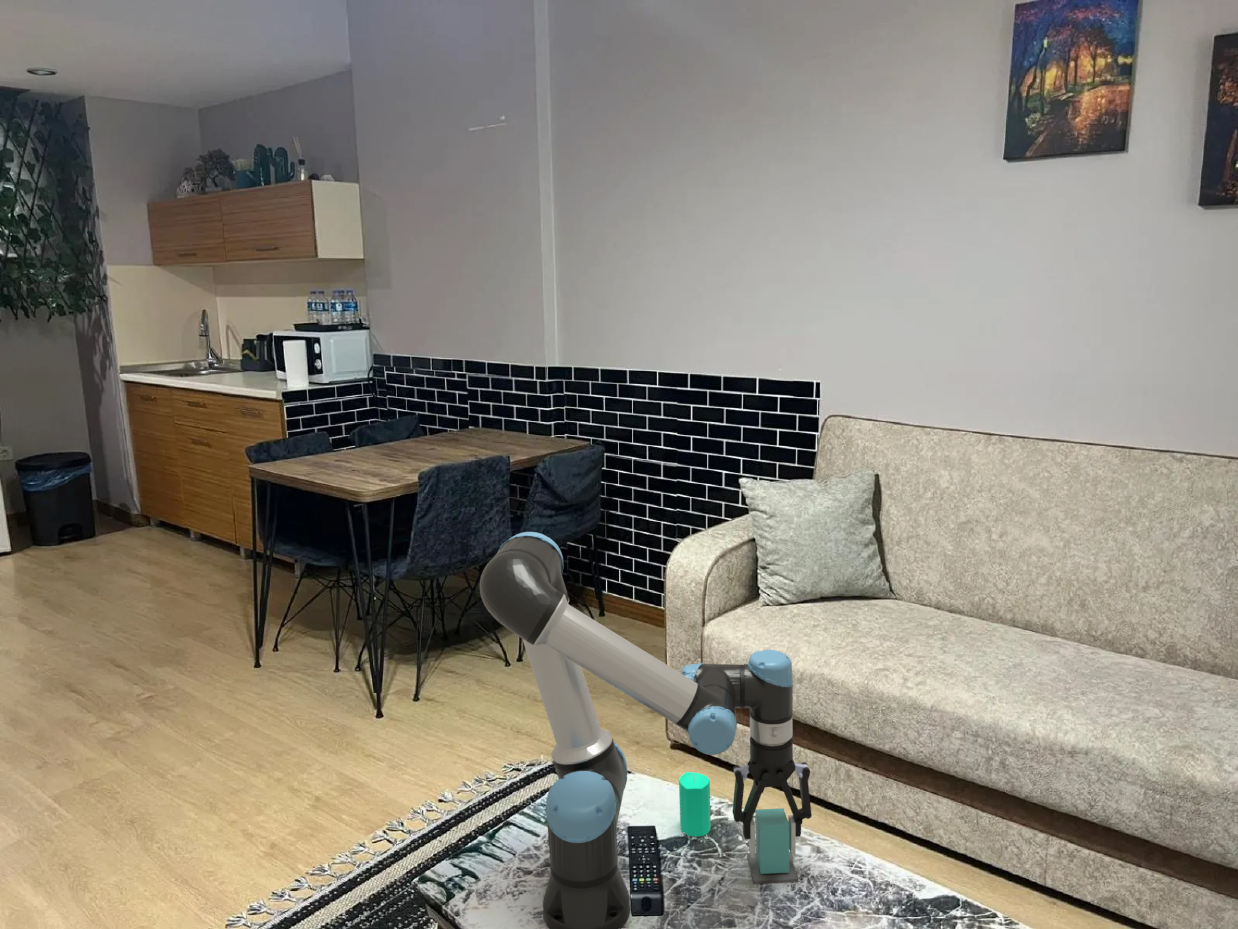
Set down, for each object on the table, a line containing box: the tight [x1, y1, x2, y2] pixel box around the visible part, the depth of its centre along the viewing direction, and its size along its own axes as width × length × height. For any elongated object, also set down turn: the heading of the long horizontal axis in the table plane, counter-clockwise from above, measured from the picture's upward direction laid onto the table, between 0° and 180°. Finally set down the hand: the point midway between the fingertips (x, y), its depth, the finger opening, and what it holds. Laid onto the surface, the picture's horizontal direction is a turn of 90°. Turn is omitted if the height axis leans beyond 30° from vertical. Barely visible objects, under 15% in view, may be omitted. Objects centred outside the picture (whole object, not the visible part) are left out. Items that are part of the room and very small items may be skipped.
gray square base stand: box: [746, 850, 799, 885], centre depth 168 cm, size 8×8×10 cm
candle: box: [678, 771, 712, 838], centre depth 181 cm, size 6×6×12 cm
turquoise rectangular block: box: [754, 807, 790, 874], centre depth 167 cm, size 5×5×10 cm
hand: (772, 852), depth 168 cm, fingers open, 7 cm apart
